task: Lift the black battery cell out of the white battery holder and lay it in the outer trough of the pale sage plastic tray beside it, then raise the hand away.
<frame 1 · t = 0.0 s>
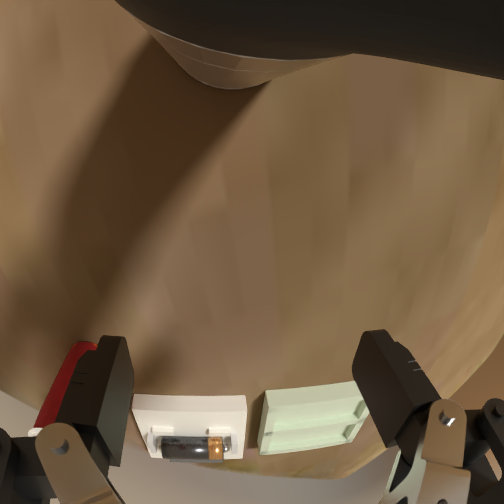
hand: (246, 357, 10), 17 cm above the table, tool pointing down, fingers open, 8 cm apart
paper cup: (93, 357, 32), on the table
white battery holder: (192, 424, 39), on the table
cell: (192, 439, 37), point 3 cm above the table, touching white battery holder
tray: (312, 413, 41), on the table
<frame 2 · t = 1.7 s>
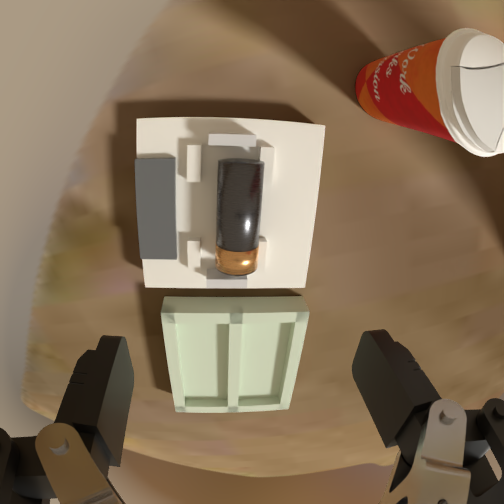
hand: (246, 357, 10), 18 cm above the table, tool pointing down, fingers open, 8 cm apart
paper cup: (380, 91, 24), on the table
white battery holder: (226, 200, 27), on the table
cell: (228, 210, 24), point 3 cm above the table, tilted 25°, touching white battery holder
tray: (232, 353, 34), on the table
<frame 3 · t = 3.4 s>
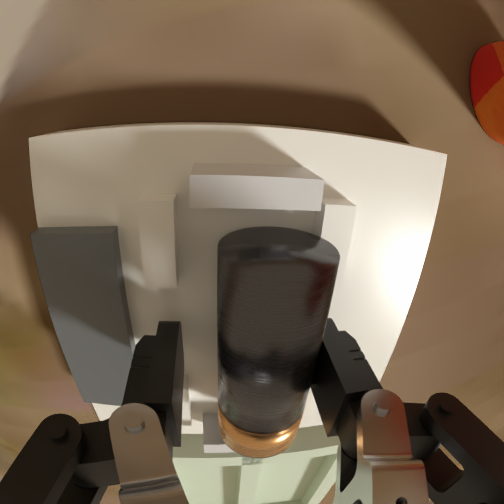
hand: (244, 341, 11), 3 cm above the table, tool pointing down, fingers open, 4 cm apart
paper cup: (498, 94, 11), on the table
white battery holder: (235, 294, 14), on the table
cell: (242, 333, 11), point 3 cm above the table, tilted 25°, touching white battery holder, gripper
tray: (243, 469, 21), on the table
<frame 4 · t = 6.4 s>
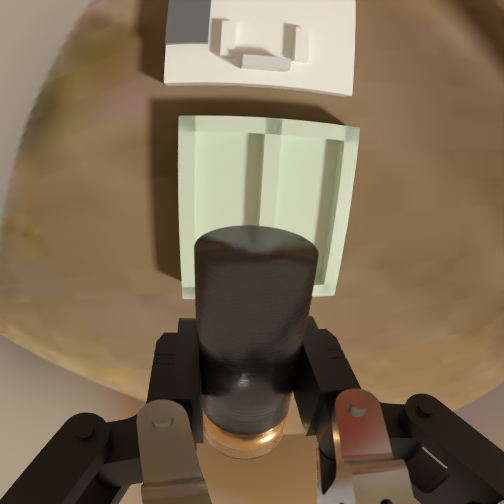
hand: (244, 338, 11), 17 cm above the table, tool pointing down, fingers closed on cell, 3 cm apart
white battery holder: (261, 9, 20), on the table
cell: (229, 332, 11), point 17 cm above the table, tilted 20°, touching gripper
tray: (262, 205, 27), on the table
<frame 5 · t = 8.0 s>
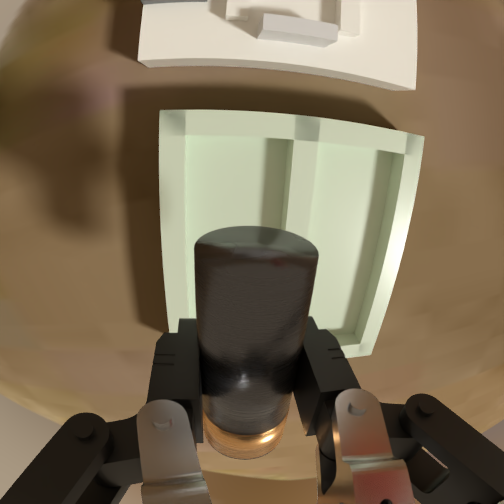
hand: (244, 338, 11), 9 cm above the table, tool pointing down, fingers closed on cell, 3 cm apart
cell: (229, 332, 11), point 8 cm above the table, tilted 20°, touching gripper
tray: (283, 241, 19), on the table
when the fingers open (3 cm above the table, at t = 9.3 s): cell drops 1 cm, resting on tray.
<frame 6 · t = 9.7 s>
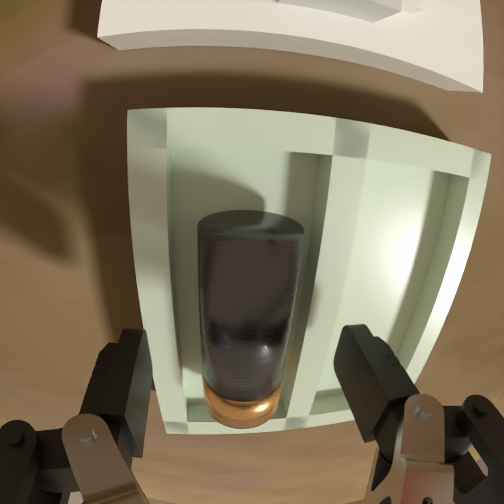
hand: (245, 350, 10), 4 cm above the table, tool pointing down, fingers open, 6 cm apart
cell: (227, 308, 12), point 2 cm above the table, tilted 19°, touching tray
tray: (304, 287, 14), on the table
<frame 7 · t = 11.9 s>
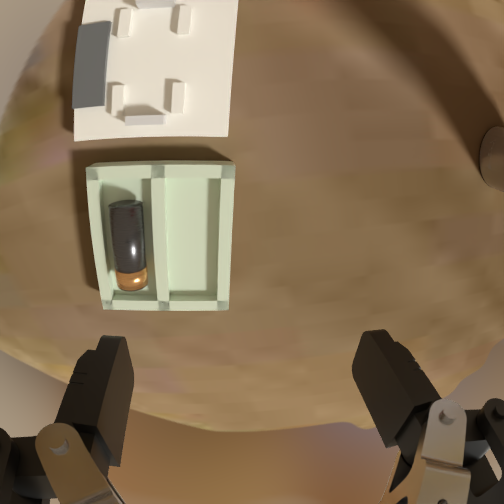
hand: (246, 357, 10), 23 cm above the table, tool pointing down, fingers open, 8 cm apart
white battery holder: (155, 63, 24), on the table
cell: (125, 239, 29), point 2 cm above the table, tilted 22°, touching tray
tray: (162, 234, 31), on the table
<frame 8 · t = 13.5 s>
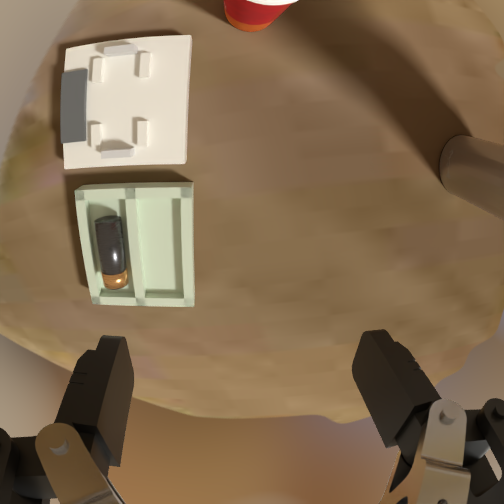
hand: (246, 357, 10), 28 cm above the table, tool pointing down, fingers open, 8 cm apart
paper cup: (249, 11, 27), on the table
white battery holder: (126, 101, 30), on the table
cell: (108, 247, 35), point 2 cm above the table, tilted 30°, touching tray
tray: (139, 242, 37), on the table
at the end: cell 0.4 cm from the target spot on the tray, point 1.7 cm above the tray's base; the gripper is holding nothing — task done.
